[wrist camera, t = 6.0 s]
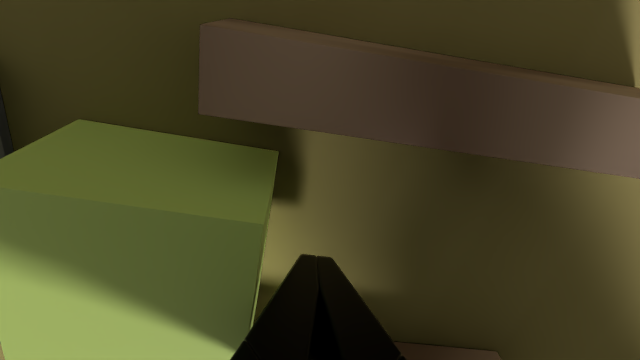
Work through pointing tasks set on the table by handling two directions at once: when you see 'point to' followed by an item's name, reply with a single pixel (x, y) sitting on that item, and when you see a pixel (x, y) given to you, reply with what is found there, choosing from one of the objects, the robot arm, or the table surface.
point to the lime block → (131, 245)
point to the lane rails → (417, 105)
